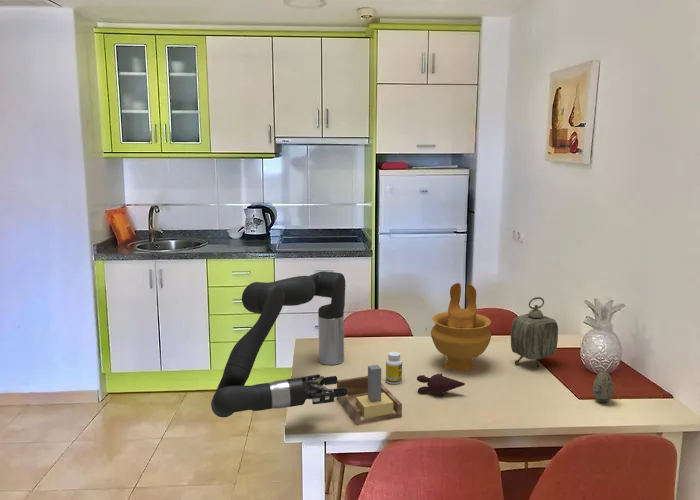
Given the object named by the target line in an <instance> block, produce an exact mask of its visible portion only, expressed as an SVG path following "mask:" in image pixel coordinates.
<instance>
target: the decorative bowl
mask: <svg viewBox="0 0 700 500" xmlns="http://www.w3.org/2000/svg"><path fill="white" fill-rule="evenodd" d="M461 286H462V285H461V283H459V282H456V283H454V284H452V285H451V286H450V288H449V295H450V301H449V304H448V308H447V311H446V312H440V313H436V314H435V315H433V316H432V319H431V320H432V321H433V322H434V326H432V328H431V330H430V336H431V337H430V338H431V339H432V342H433V344H434V346H435V349H437V351H438V352H439V353H440V354H442V355H443V356H445V357H446V358H447V359H446V361H445V362H444V366H445V367H446V368H447V369H449V370H452V371H458V372H461V371H462V372H465V371H471V370H473V369H474V368H475V367H476V365H475V364H474V359H475V358H478V357H480V356H481V355H482V354H483V353H485V351H486V349H488V346H489V344H490V342H491V340H492V333H491V330H490V329H489V328H488V327H489V326H490V325H491V323H492V320H491V319H490V318H489V317H488V316H485V315H483V314H479V313H478V312H477V311H478V309H477V290H476V288H475V287H474V285H472V284H471V283H467V285H466V289H465V290H466V291H465V296H466V297H465V298H466V301H467V306H466V308H462V307H461V306H460V301H461V297H462V296H461V294H462V287H461Z"/></svg>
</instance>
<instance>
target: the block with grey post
mask: <svg viewBox="0 0 700 500" xmlns="http://www.w3.org/2000/svg"><path fill="white" fill-rule="evenodd" d="M367 376H368V395H365V396H359V397H356V406H357V407H358V408H359V409H360V411H361V415H362V416H363V417H364V418H370V417H376V416H382V415H388V414H393V401H392V400H391V399H390V398H389V397H388V396H387V395H386V394H385V393H381V383H382V367H380V365H378V364H373V365H368V366H367Z"/></svg>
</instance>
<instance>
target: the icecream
mask: <svg viewBox="0 0 700 500" xmlns="http://www.w3.org/2000/svg"><path fill="white" fill-rule="evenodd" d="M416 381H418V382H419V383H422V384H425V383H426V385H427V386H421V387H419V388H417V393H419V394H423V395H424V394H427V393H429V392H431V393H432V394H434V395H438V396H444V395H445V393H447V392H449V391H452V390H455V389H457V388H458V389H459V388H460V387H463V386H465V385H466V383H465V382H462V381H460V380H457V379H453V378H450V377H447V376H444V375H443V373H442V372H441V373H437V374H434V375H431V376H430V377H428V376H426V375H425V374H421V375H420V374H419V375H417V377H416Z"/></svg>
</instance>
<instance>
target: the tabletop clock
mask: <svg viewBox="0 0 700 500" xmlns="http://www.w3.org/2000/svg"><path fill="white" fill-rule="evenodd" d="M536 300H541V302H542V304H541V305H539V306H538V304H535V305H534V306H533V307H532V306H531V304H532V302H533V301H536ZM544 304H545V300H544V298H542V297H541V296H537V297H533V298H532V299H530V301H529V302H528V307H529V308H530V309H531V310H530V311H528V313H526V314H522V315H518V316H515V318H513V320H512V324H511V329H510V331H511V332H510V348H511V351H512V353H514V354H515V355H518V356H520V357H519V358H518V359H516V360H514V364H515V365H517V366H518V365H519V364H520V361H521V360H522V359H523V358H525V359H528V360H535V361H536V363H535V367H536V368H539V367H540V366H541V363H540V362H539V360H540V361H541V360H542V359H543V358H547V357H550V356H553V355H554V354H556V352H557V347H558V340H559V338H558V337H559V326H558V322H557V321H556V319H554V318H552V317H548V316H546V315H544V314H543V312H542V310H540V308H542V307H543V306H544Z"/></svg>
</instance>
